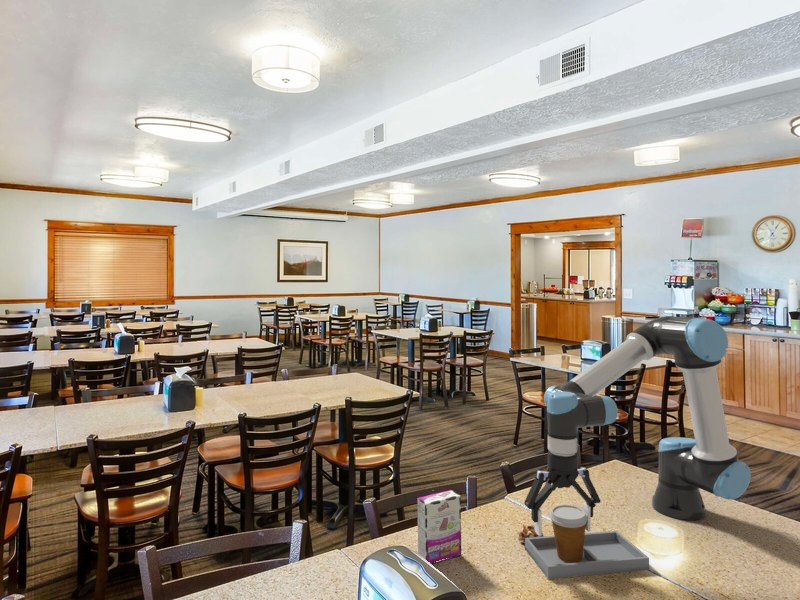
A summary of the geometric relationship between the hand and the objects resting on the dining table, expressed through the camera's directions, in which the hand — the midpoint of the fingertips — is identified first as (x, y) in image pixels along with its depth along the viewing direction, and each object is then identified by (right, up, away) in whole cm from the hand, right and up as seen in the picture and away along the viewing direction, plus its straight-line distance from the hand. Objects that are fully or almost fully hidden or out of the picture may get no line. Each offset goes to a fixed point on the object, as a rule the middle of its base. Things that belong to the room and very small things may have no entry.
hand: (562, 531), depth 135 cm
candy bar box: (-32, -8, +2) cm, 33 cm away
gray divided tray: (+6, -8, +1) cm, 10 cm away
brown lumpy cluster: (-5, -8, +13) cm, 17 cm away
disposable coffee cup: (+2, -7, 0) cm, 7 cm away
